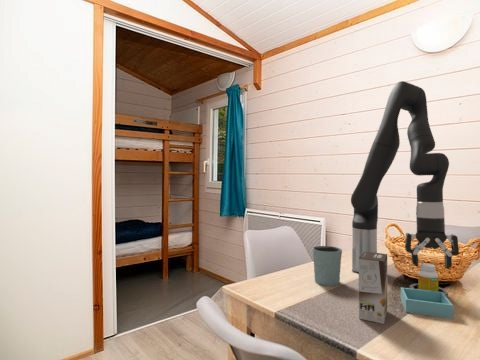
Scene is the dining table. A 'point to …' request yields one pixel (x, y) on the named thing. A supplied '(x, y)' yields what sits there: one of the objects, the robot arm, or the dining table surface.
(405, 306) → the tray
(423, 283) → the supplement bottle
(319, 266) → the teal cup
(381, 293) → the coffee box
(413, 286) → the holder
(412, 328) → the dining table surface
